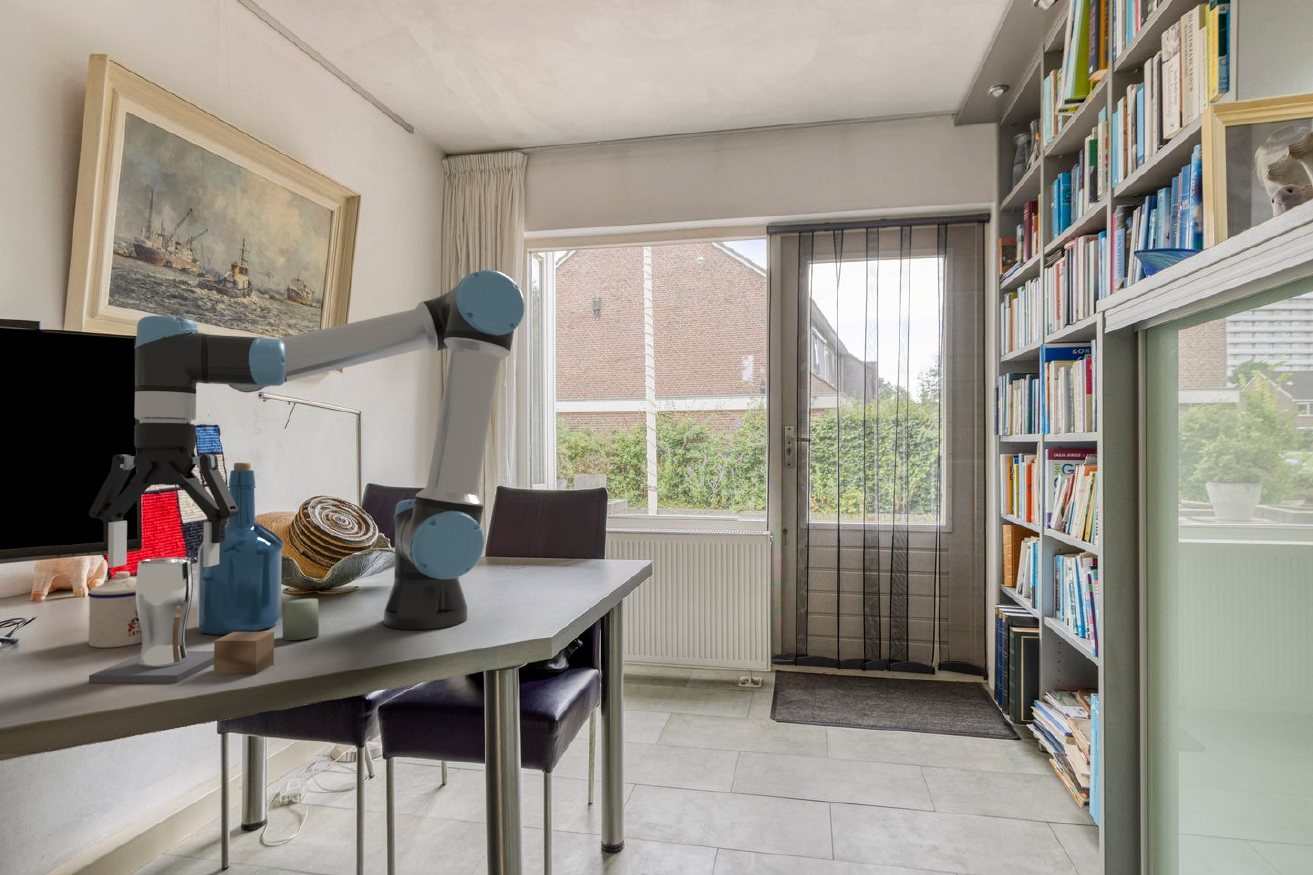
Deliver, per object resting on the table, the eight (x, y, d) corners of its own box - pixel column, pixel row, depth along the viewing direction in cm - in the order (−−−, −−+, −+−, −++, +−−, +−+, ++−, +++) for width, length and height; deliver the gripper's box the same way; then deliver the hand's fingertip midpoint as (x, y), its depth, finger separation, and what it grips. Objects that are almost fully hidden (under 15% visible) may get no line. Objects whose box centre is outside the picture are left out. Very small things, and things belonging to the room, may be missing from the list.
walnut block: (273, 664, 108) (274, 631, 108) (255, 675, 103) (256, 640, 103) (233, 664, 108) (233, 631, 108) (213, 675, 103) (214, 640, 103)
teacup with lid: (138, 647, 117) (140, 575, 117) (74, 650, 115) (76, 577, 115) (171, 629, 129) (172, 564, 129) (113, 631, 127) (114, 565, 127)
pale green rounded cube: (325, 634, 124) (324, 599, 125) (292, 641, 120) (291, 605, 120) (309, 631, 128) (308, 597, 128) (276, 638, 123) (276, 602, 124)
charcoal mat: (226, 657, 112) (226, 650, 112) (177, 682, 100) (177, 675, 100) (147, 657, 111) (147, 651, 111) (88, 682, 99) (88, 675, 99)
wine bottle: (189, 640, 122) (192, 463, 122) (203, 622, 134) (206, 462, 134) (280, 632, 127) (283, 463, 128) (285, 616, 139) (287, 462, 140)
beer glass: (128, 671, 101) (130, 565, 101) (141, 658, 107) (143, 558, 108) (186, 666, 104) (188, 562, 104) (195, 653, 110) (197, 555, 110)
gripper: (264, 423, 110) (263, 561, 110) (98, 422, 109) (97, 561, 109) (237, 421, 103) (236, 569, 102) (59, 421, 102) (57, 570, 102)
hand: (164, 565), depth 106 cm, fingers open, 13 cm apart
